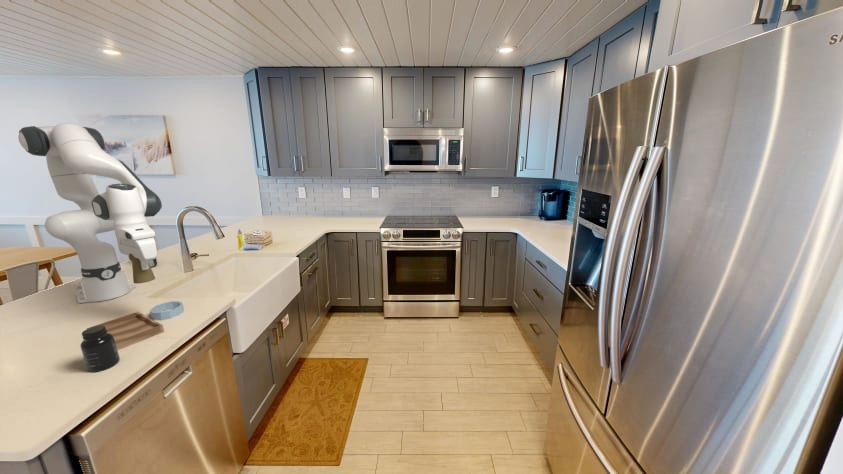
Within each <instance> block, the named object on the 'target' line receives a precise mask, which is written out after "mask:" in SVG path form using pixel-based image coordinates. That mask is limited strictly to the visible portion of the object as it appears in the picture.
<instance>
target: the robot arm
mask: <svg viewBox="0 0 843 474" xmlns="http://www.w3.org/2000/svg"><path fill="white" fill-rule="evenodd" d="M18 142H19V144H20V146H21V147H22V148H23V149H24V150H25V151H26V152H27V153H28V154H30V155H32V156H38V157H46V164H47V165H46V166H47V169H48V172H49V176H50V178H51V181H52V183H53V186H54V188H55V191H56V193H57V195H58V196H59V197H60V198H62V199H64V200H66V201H70V202H73V203H75V204H76V205H78V207H79V208H80V209H76V210H75V209H74V210H67V211H62V212H59V213H55V214H52V215H50V216H47V218H46V219H45V222H44V228H45V231H46V232H47V233H48V234H49V235H50V236H51V237H53V238H54V239H59V240H61V241H64V242H65V243H67V244H69V245H70V246H71V247H72V248H73V249H74V251H75V252H76V254H77V256H78V259H79V263H80V266H81V268H80V274H81V276H82V277H81V279H80V283H78V284H76V285H75V289H76V291H75V297H76V301H77V303H78V304H83V303H84V304H85V303H93V302H94V303H97V302H102V301H108V300H112V299H115V298H119V297H122V296H124V295H127V294H128V293H129V292H131V291H132V290H135V288H136V286H135V285H133V284H131V283H130V280H129V277H128V274H127V272H125V271H123V270H122V267H121V264H120V262H119V261H118V258H117V257H118V256H117V254H116V250H115V247H114V246H113V245H112V244H111V243H108V242H105V241H100V240H99V239H98V237H97V234H103V233H107V232H113V231H114V234H115V238H116V241H117V248H118V251H119V252H120V254H123V255H126V256H129V254H132V255H133V256H134V257H135V258H138V259H139V260H140V261H141V265H140V267H141V269H142V270H147V269H149V267H148V262H149V260H152V259H156V260H157V257H158V249H157V242H156V240H155V237H156V231H154V229H152V228H151V226H150V225H149V223H148V219H147V218H149V217H150V218H151V217H154V216H156V215H157V214H158V213H159V212H160V211H161V210H162V208H163V204H162V201H161V198H160V197H159V195H157V194H156V192H154V191H153V190H152V189H150V188H149V187H148V186H147V185H146V184H145V183H144V182H143V181H142V180H141V179H140V178H139V177H138V176H137V174H136V173H134V171H133V170H132V169H131V168H130V167H129V166H128V165H127V164H126V163H124V161H123V160H120V159H118V158H116V157H113V156H112V155H111V154H109V153H107V152H106V151H105V149H106V145H105V144H106V142H105V139H104V137H103V136H102V134H101V132H99V130H97V129H96V128H93V127H87V126H82V125H79V124H77V123H71V122H62V123H59V124H56V125H52V126H51V125H49V126H47V125H46V126H45V125H44V126H35V125H32V126H31V125H30V126H23V127H22V128H20V129H19V130H18ZM92 176H99V177H104V178H110V179H113V180H116V181H118V182H120V183H112V184H109V185H107V186H106V188H105V190H106V191H105V192H102V193H100V192H99V191H98V189H97V187H96V184H95V183H94V180H93V177H92ZM130 262H131V263H132V261H130Z"/></svg>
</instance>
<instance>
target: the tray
mask: <svg viewBox="0 0 843 474" xmlns="http://www.w3.org/2000/svg"><path fill="white" fill-rule="evenodd" d="M163 325H164V324H161V323H159V322H157V320H154V319H152V318H150V317H149V316H147V315H145V314H143V313H142V312H139V311H136V312H133V313H129V314H126V315H123V316H120V317H118V318H114V319H112V320H108V321H104V322H102V323H99V324H95V325H92V326H89V327H87V328H86V329H89V328H92V327H95V326H105V327H106V330H107V333H110V334H112V335H113V337H114V340H115V343H116V347H117V350H118V351H120V350H122V349H124V348H126V347H130V346H132V345H134V344H137V343H140V342H142V341H145V340H147V339H149V338H152V337H154V336H158V335H159V334H162V333H164V332H165V330H164V326H163Z"/></svg>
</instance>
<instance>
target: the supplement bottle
mask: <svg viewBox="0 0 843 474" xmlns="http://www.w3.org/2000/svg"><path fill="white" fill-rule="evenodd" d="M94 326H95V325H94ZM91 327H92V326H91ZM88 328H89V327H88ZM81 337H82V339H83V340H82V342H81V343H80V345H79V347H80V350H81V353H82V356H83V359H84V362H85V366H86V368H87V371H88V372H92V373H98V372H99V373H100V372H103V371H106V370H108V369H111V368H112V367H114V366H116V365H117V364H118V363H119V362H120V360H121V358H120V354H119V350H117V347H116V343H115V340H114V337H113V335H112V334H110V333H107V330H106V327H105V326H95V327H92V328H89V329H87V328H86V329H85V330H83V331H82V332H81Z"/></svg>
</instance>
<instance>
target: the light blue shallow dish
mask: <svg viewBox="0 0 843 474" xmlns="http://www.w3.org/2000/svg"><path fill="white" fill-rule="evenodd" d="M167 309H170V310H167ZM164 310H165V311H164ZM161 311H162V312H161ZM184 311H185V308H184V303H183V302H182V301H179V300H177V301H175V300H173V301H168V302H163V303H160V304H158V305H155V306H153V307H152V308H151V309H150V310H149V314H150V317H151V319H152V320H154V321H165V320H169V319H172V318H175V317H178V316H180V315H181V314H183V313H184ZM164 319H165V320H164Z"/></svg>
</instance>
